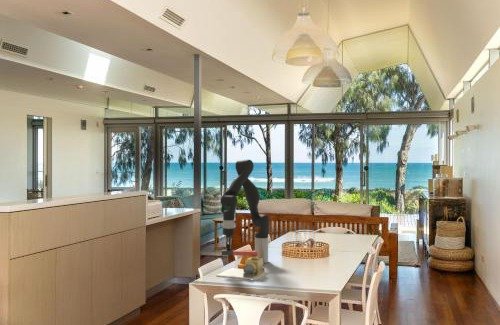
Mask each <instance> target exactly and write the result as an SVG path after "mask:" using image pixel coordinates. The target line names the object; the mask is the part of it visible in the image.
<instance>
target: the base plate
mask: <svg viewBox="0 0 500 325" xmlns="http://www.w3.org/2000/svg"><path fill="white" fill-rule="evenodd" d="M243 273H244V271H243V269H241V268H238V267H237V268H236V267H235V268H233V267H231V268H228V269H226V270H224V271H222V272H220V273H218V274H216V277H217V276H222V277H221V278H227V277H232V278H231V279H238V278H242V279H241V280H248V279H253V280H252V281H258V280H259V279H261V278H262V277H264V276H266V275H268V274H269V273H270V271H267V270H264V271H263V273H262V274H260V275H258V276H254V277H253V278H250V277H243ZM265 274H266V275H265ZM260 277H261V278H260Z"/></svg>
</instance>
